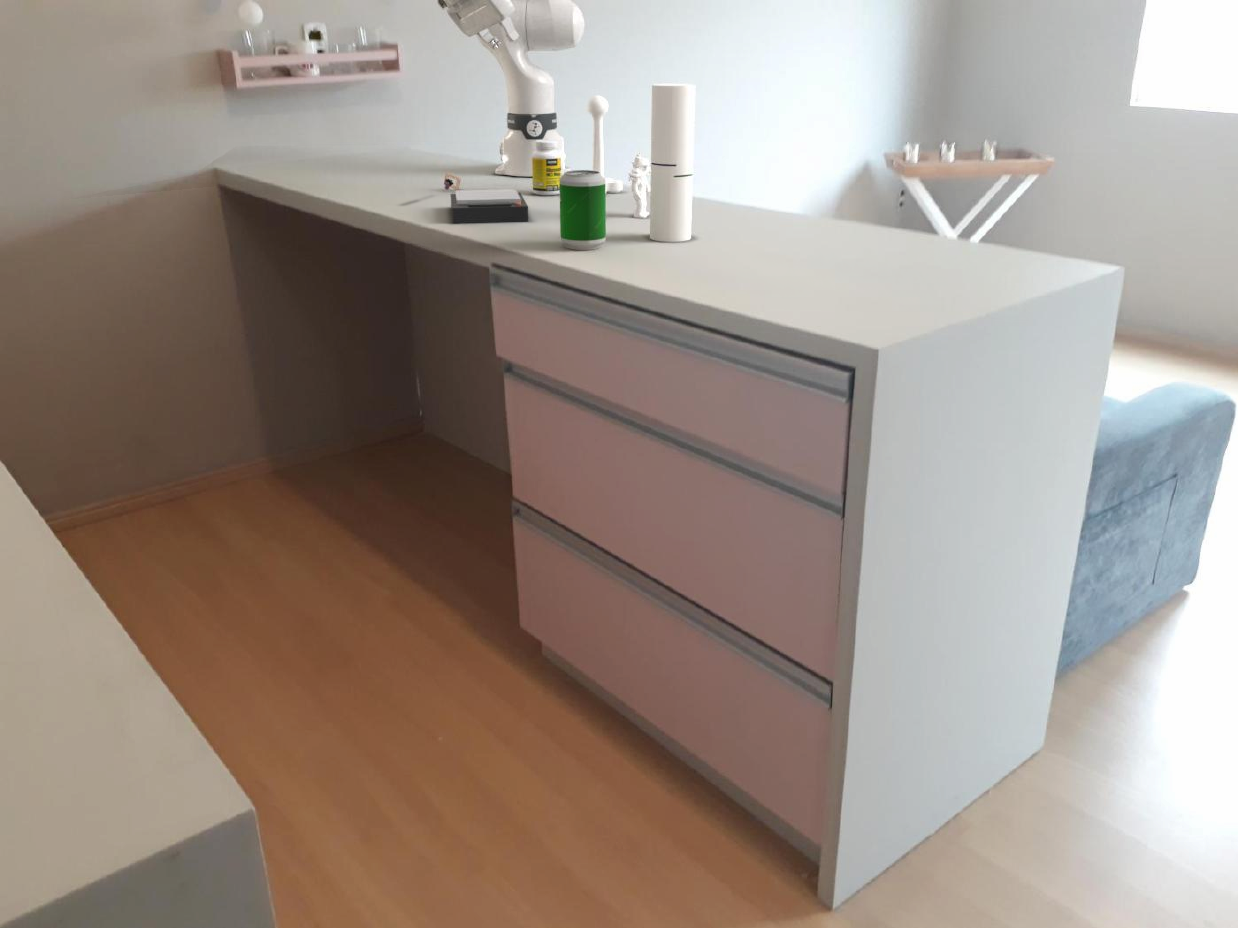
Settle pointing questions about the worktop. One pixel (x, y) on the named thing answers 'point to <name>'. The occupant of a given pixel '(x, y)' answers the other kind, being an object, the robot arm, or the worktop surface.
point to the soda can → (582, 209)
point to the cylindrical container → (671, 161)
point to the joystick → (601, 141)
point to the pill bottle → (546, 168)
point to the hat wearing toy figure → (640, 185)
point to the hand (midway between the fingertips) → (506, 44)
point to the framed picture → (450, 182)
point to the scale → (488, 206)
